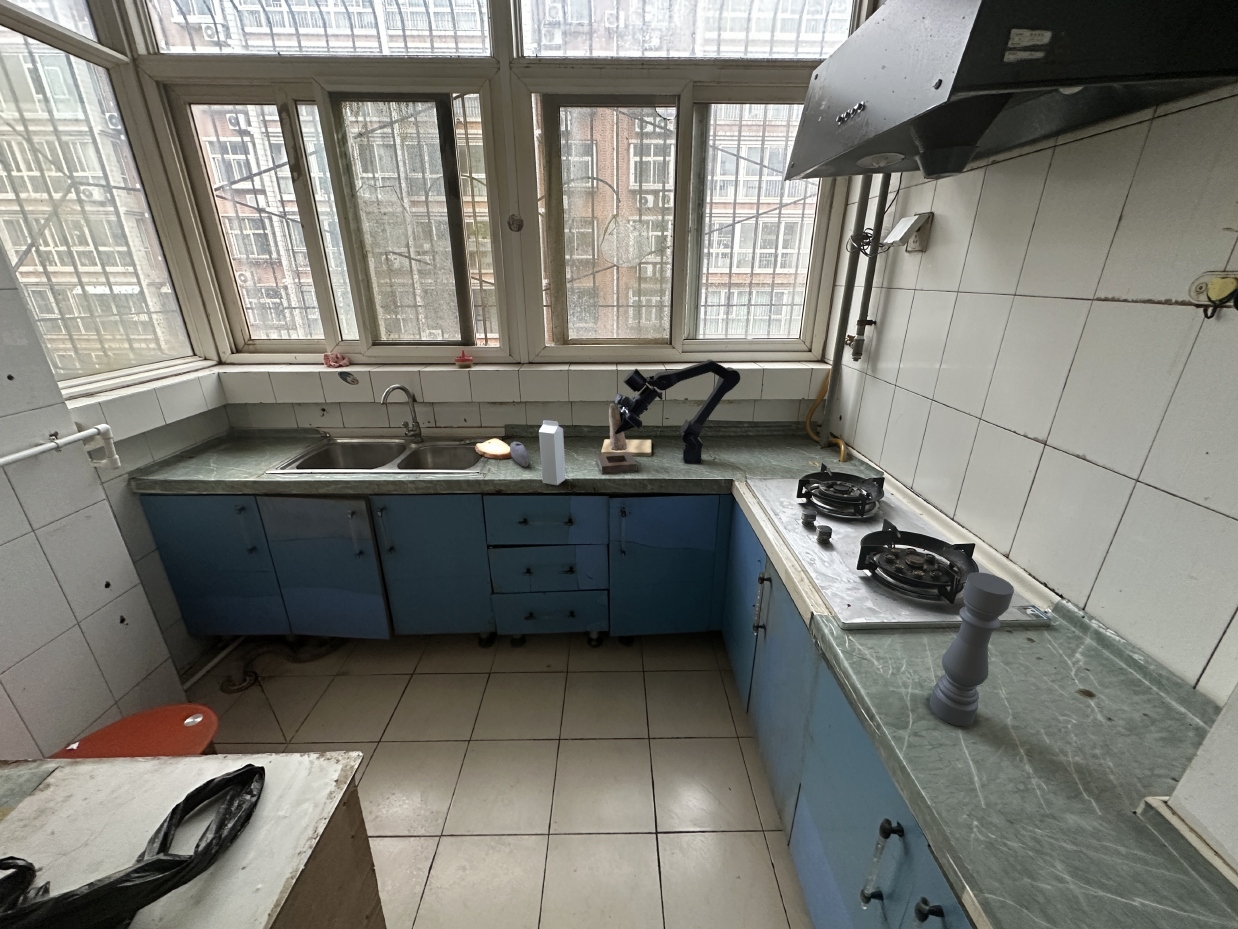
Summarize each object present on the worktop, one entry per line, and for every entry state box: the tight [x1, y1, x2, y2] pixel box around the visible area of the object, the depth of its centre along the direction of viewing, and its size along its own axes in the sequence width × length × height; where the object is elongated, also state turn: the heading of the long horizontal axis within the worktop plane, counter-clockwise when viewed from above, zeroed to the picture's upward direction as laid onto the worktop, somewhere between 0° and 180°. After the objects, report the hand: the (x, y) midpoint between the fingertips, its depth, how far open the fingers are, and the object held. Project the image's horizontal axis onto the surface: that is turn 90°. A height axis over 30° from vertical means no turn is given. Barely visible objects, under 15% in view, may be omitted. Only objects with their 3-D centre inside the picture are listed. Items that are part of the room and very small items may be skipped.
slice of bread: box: [474, 437, 513, 460], centre depth 204 cm, size 18×18×4 cm
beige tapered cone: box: [608, 403, 627, 451], centre depth 185 cm, size 6×18×6 cm
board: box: [600, 438, 652, 457], centre depth 206 cm, size 20×16×2 cm
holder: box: [596, 452, 638, 475], centre depth 187 cm, size 13×13×3 cm
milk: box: [538, 419, 566, 486], centre depth 171 cm, size 6×6×22 cm
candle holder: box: [929, 571, 1015, 727], centre depth 78 cm, size 6×6×25 cm
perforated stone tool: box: [509, 441, 530, 468], centre depth 191 cm, size 15×5×7 cm, turn 26°
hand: (614, 431), depth 185 cm, fingers closed on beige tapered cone, 4 cm apart
